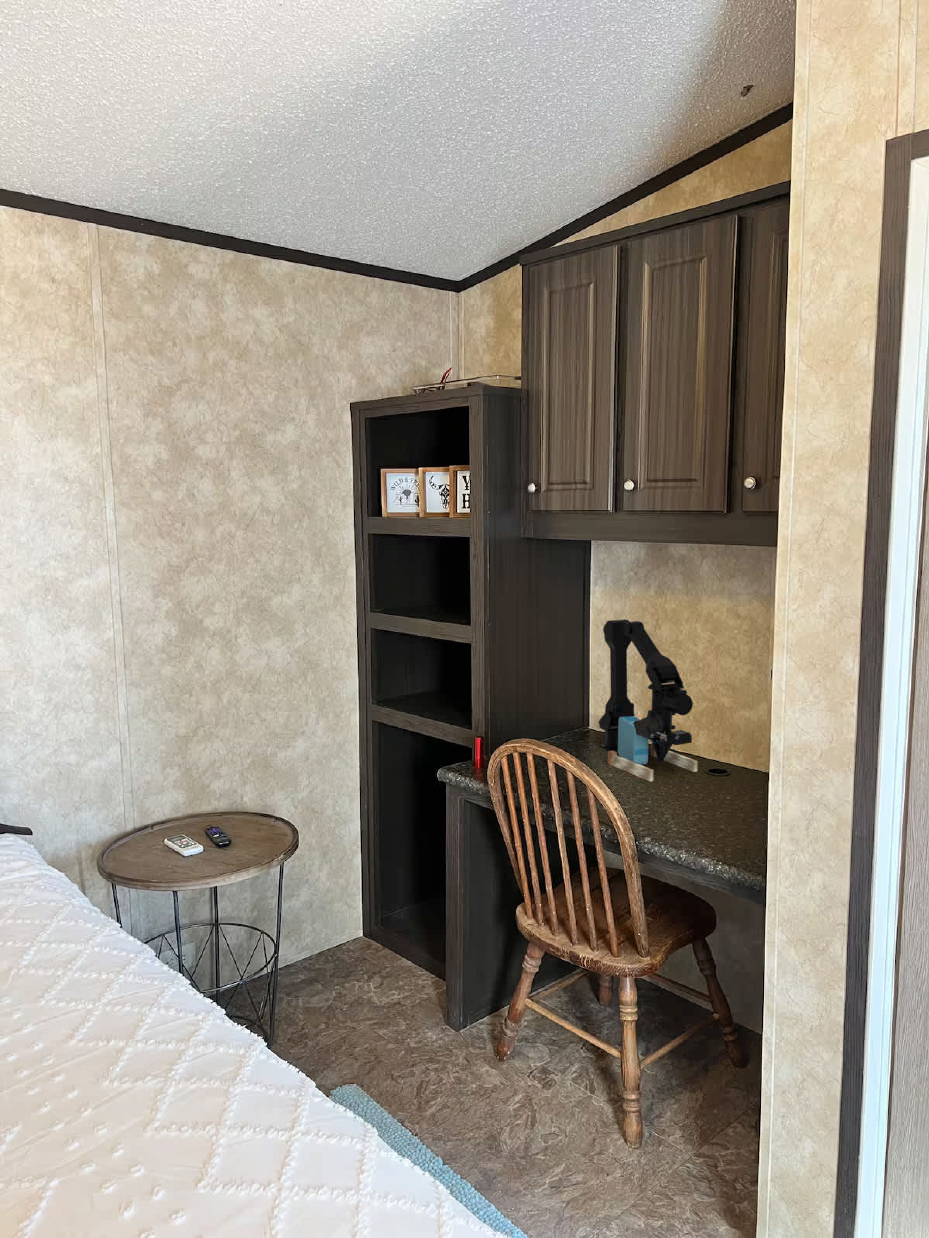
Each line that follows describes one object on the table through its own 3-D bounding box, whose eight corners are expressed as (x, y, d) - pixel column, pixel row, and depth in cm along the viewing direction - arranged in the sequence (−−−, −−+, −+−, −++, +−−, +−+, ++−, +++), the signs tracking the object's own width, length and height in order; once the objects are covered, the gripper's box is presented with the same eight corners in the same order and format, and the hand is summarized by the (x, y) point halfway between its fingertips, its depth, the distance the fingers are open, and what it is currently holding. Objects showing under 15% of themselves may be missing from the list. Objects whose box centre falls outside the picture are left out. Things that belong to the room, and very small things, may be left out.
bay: (607, 764, 268) (607, 751, 267) (655, 754, 277) (655, 742, 276) (648, 781, 252) (649, 768, 252) (698, 771, 261) (698, 758, 261)
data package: (648, 765, 266) (649, 725, 264) (633, 766, 265) (634, 726, 264) (631, 753, 278) (632, 714, 276) (617, 754, 277) (618, 715, 275)
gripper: (618, 704, 263) (617, 757, 265) (662, 718, 247) (661, 774, 249) (648, 699, 268) (647, 751, 271) (693, 712, 252) (692, 768, 254)
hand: (660, 761), depth 261 cm, fingers closed
